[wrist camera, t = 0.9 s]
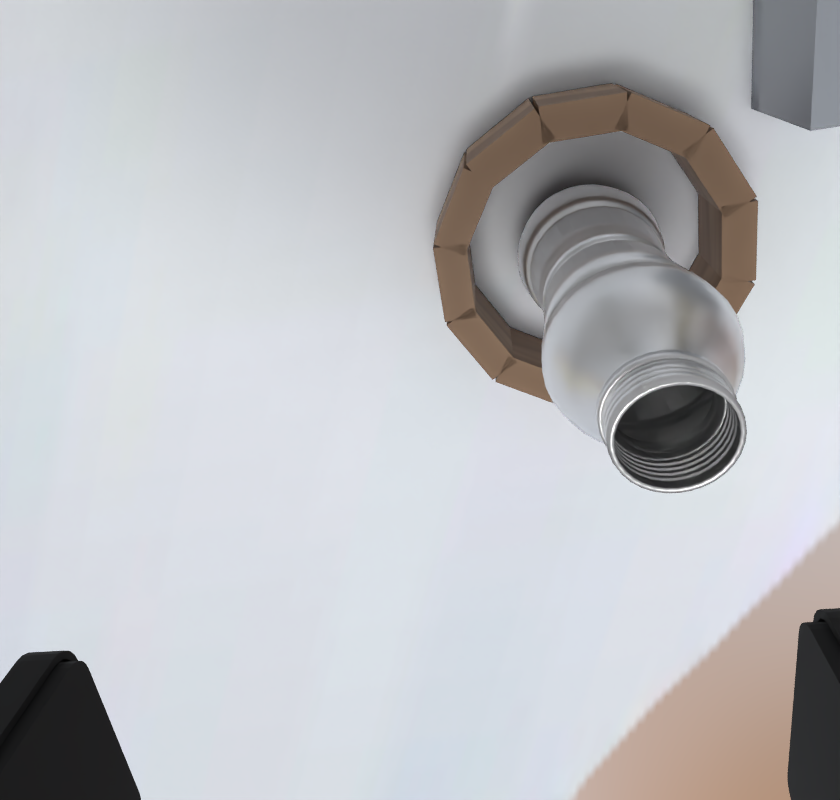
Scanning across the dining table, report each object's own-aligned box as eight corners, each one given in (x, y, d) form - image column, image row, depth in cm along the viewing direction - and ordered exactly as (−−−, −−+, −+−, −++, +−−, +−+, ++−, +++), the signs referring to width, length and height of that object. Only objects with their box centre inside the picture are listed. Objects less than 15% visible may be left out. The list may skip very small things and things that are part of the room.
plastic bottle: (521, 170, 38) (565, 320, 20) (663, 178, 37) (836, 336, 20) (509, 297, 41) (537, 527, 23) (640, 305, 40) (773, 543, 23)
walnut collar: (419, 115, 37) (413, 127, 33) (731, 62, 35) (760, 69, 32) (461, 385, 43) (460, 419, 39) (729, 352, 41) (753, 385, 38)
